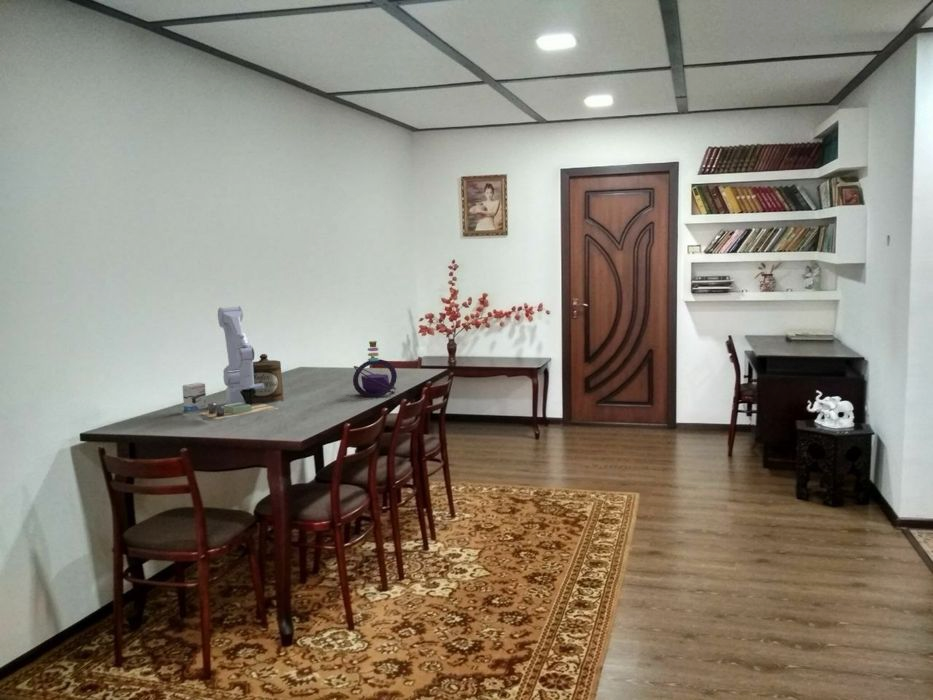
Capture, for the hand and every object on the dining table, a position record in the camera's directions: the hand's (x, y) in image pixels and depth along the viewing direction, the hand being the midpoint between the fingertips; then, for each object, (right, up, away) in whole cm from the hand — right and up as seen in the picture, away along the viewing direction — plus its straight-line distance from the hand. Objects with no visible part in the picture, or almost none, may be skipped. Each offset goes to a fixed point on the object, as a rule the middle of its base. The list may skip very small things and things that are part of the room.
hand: (248, 406), depth 327 cm
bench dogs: (-11, -4, -9) cm, 15 cm away
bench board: (-3, -2, -3) cm, 5 cm away
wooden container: (+2, 0, +22) cm, 22 cm away
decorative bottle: (+50, +3, +33) cm, 60 cm away
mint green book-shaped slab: (-4, -2, -3) cm, 5 cm away
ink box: (-25, -2, +5) cm, 25 cm away
